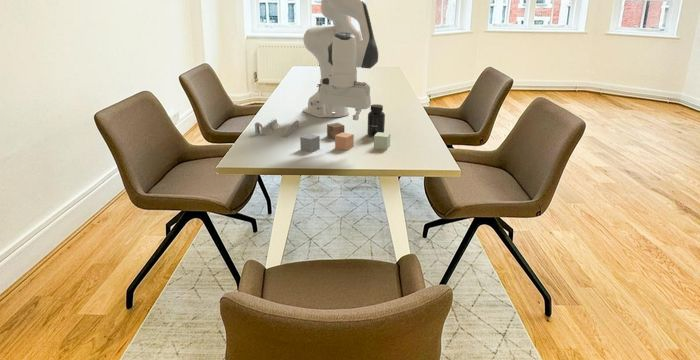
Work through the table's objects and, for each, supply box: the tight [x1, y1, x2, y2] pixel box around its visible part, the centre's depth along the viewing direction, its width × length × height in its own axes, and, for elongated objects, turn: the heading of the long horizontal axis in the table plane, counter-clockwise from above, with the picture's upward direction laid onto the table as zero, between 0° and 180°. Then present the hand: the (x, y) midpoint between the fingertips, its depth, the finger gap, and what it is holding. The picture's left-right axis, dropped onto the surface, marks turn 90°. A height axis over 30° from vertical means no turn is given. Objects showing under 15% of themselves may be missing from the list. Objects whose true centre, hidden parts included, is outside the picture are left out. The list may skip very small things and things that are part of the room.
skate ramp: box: [254, 118, 299, 138], centre depth 219 cm, size 15×13×5 cm
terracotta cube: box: [334, 132, 355, 151], centre depth 197 cm, size 5×5×5 cm
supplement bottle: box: [366, 103, 386, 138], centre depth 212 cm, size 7×7×12 cm
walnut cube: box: [326, 122, 345, 140], centre depth 210 cm, size 5×5×5 cm
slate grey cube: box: [299, 133, 321, 153], centre depth 195 cm, size 5×5×5 cm
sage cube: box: [373, 132, 391, 151], centre depth 198 cm, size 5×5×5 cm
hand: (344, 118), depth 194 cm, fingers open, 8 cm apart
